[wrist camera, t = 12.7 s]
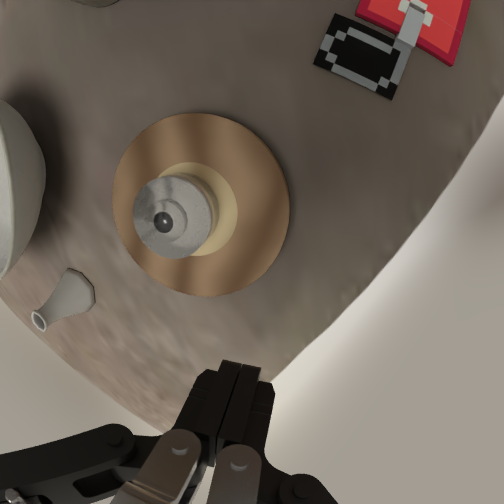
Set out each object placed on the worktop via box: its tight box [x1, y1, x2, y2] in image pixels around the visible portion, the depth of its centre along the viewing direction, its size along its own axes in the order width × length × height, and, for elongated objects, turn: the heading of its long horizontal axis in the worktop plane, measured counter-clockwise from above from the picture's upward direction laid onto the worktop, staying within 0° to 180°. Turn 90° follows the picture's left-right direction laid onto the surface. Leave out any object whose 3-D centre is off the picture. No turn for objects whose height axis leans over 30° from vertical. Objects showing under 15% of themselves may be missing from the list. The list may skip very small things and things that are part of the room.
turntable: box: [112, 113, 290, 297], centre depth 32 cm, size 20×20×3 cm
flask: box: [31, 268, 95, 332], centre depth 38 cm, size 7×7×10 cm
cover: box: [133, 172, 219, 259], centre depth 29 cm, size 8×8×5 cm
